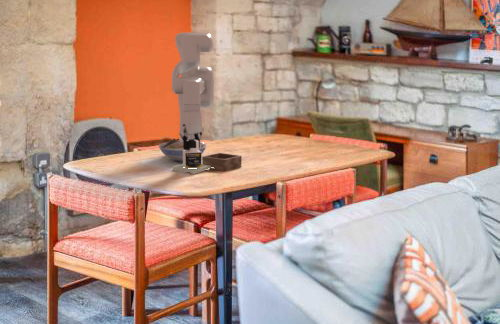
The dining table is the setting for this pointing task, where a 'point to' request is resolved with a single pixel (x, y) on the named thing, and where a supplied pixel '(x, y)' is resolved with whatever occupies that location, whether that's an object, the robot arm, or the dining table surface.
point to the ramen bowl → (176, 149)
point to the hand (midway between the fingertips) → (191, 148)
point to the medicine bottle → (192, 155)
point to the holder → (222, 161)
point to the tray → (192, 171)
